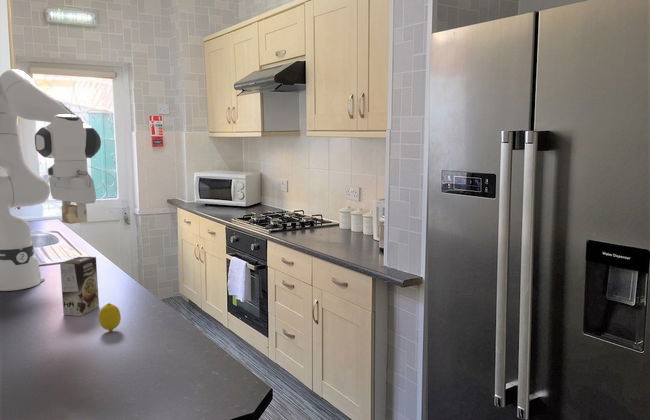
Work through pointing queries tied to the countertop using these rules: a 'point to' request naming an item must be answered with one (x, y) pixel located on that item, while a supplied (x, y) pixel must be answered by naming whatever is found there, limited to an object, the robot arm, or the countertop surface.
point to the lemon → (109, 317)
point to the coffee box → (79, 285)
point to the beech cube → (72, 214)
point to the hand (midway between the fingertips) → (74, 216)
